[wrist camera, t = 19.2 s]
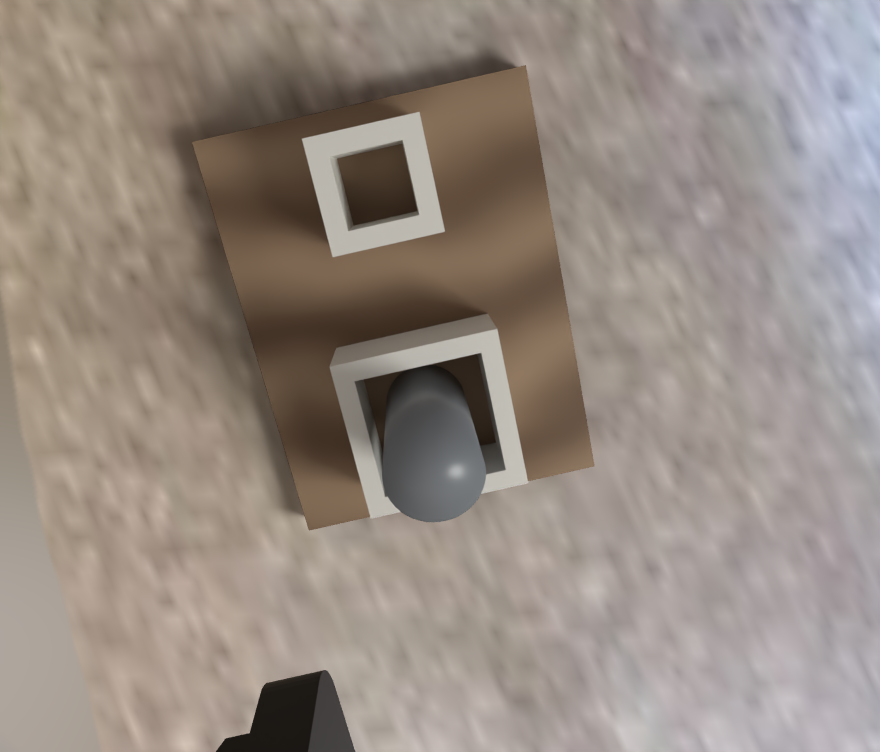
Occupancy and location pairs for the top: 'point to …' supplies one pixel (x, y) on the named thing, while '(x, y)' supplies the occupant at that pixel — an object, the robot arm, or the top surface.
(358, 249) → the socket fittings
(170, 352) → the top surface
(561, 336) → the board
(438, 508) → the capsule
